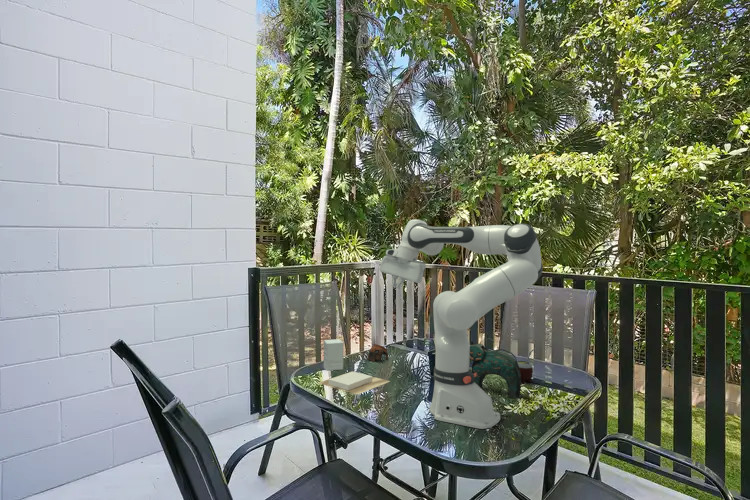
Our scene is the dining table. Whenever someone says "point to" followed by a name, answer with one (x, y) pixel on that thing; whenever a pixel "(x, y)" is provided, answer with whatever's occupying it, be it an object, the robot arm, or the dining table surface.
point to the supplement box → (333, 354)
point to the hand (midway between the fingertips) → (395, 287)
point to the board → (360, 389)
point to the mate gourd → (526, 370)
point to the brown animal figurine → (377, 353)
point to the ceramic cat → (495, 366)
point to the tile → (350, 380)
